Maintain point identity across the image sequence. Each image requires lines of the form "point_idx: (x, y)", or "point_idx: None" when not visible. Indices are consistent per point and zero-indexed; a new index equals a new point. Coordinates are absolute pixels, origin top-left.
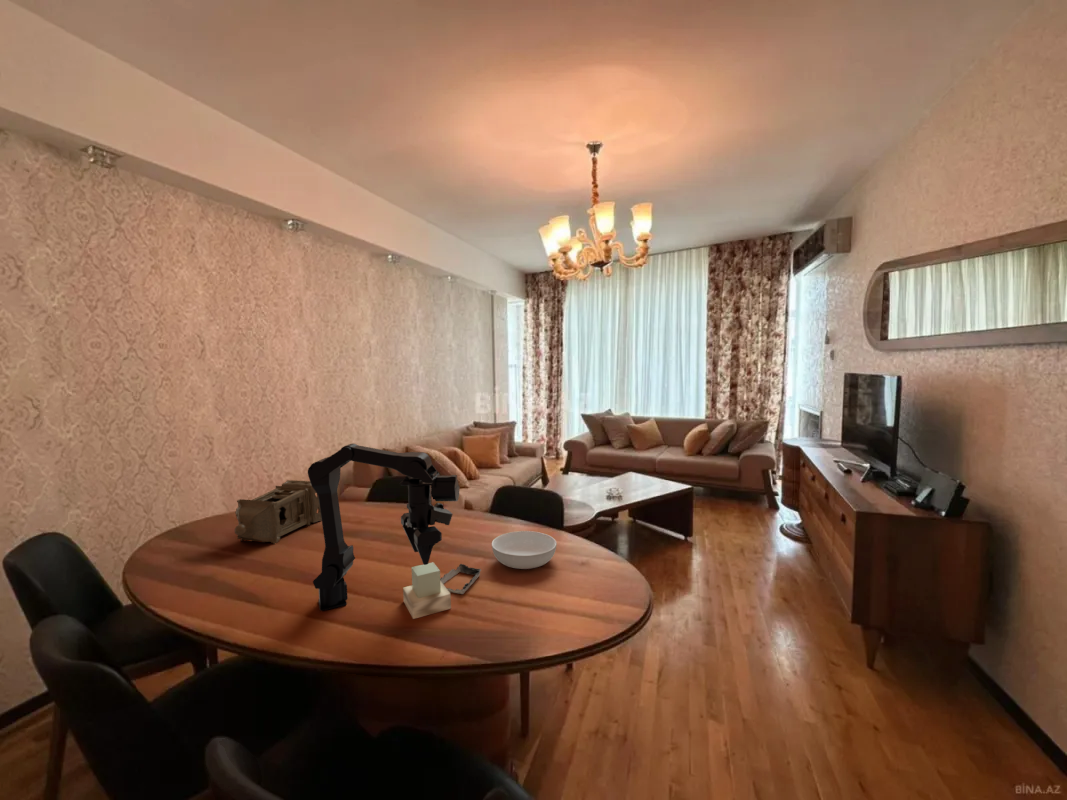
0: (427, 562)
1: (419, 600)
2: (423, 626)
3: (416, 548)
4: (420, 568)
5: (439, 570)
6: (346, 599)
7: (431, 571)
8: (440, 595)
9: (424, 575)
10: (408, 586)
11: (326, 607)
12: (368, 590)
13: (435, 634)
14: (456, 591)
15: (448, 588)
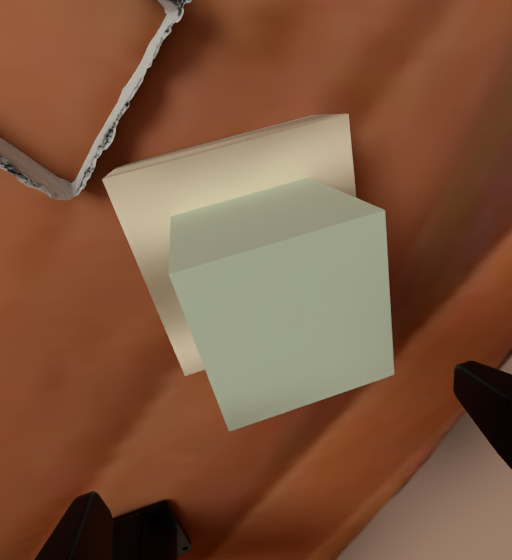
0: (490, 375)
1: None
2: (400, 245)
3: (96, 551)
4: (275, 369)
5: (381, 215)
6: (141, 515)
7: (368, 284)
8: (344, 181)
9: (388, 328)
10: (179, 353)
11: (181, 542)
12: (49, 470)
13: (470, 201)
14: (153, 52)
15: (127, 107)
